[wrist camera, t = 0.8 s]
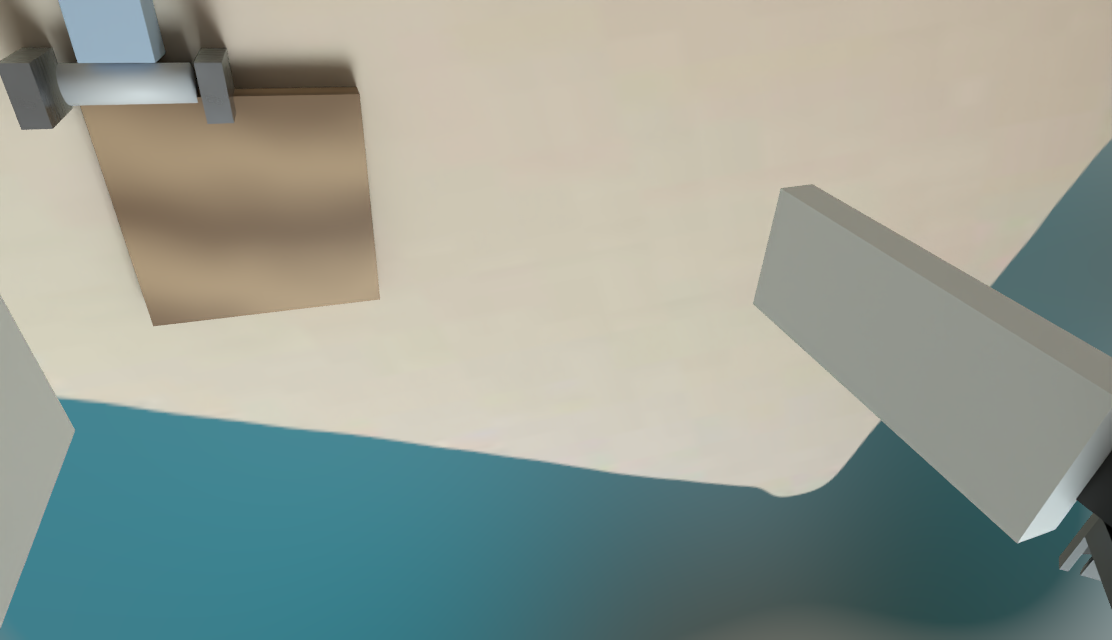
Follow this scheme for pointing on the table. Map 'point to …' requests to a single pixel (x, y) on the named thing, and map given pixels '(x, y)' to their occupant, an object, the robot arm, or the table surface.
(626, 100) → the table surface
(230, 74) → the hinge cheek
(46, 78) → the hinge cheek
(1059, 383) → the robot arm
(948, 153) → the table surface
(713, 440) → the table surface
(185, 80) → the leg
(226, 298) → the board
